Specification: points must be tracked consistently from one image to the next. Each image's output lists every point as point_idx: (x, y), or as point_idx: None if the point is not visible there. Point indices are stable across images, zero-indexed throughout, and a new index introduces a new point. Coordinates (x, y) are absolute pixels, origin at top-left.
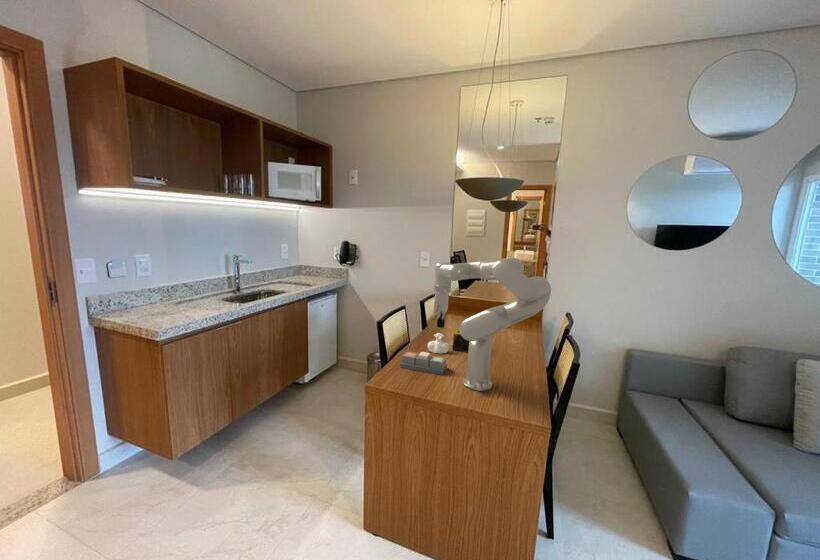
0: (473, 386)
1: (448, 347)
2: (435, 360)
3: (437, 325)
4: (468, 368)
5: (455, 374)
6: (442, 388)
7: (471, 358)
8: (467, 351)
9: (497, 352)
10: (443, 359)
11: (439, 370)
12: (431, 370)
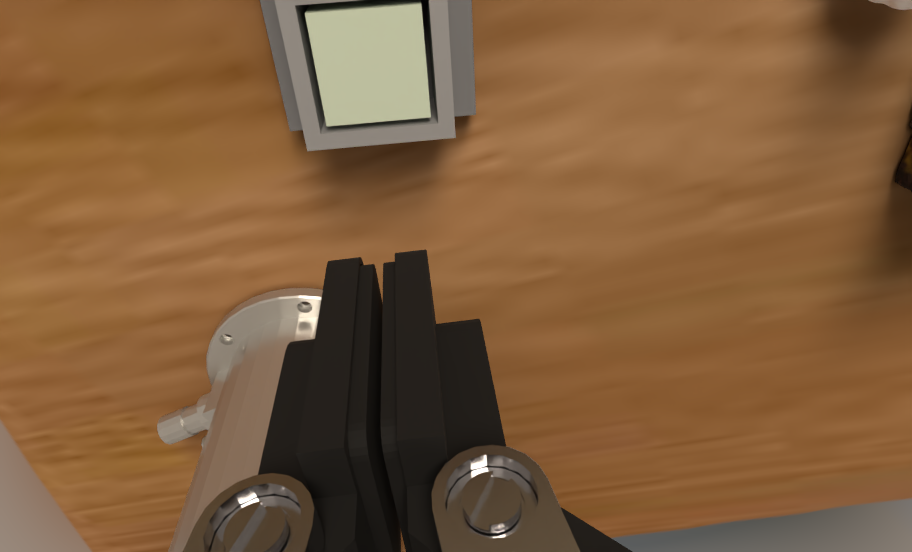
0: (215, 375)
1: (895, 6)
2: (318, 53)
3: (325, 292)
4: (224, 414)
5: (377, 206)
6: (72, 198)
7: (180, 521)
8: (904, 162)
9: (908, 344)
10: (424, 114)
11: (285, 100)
12: (266, 9)
